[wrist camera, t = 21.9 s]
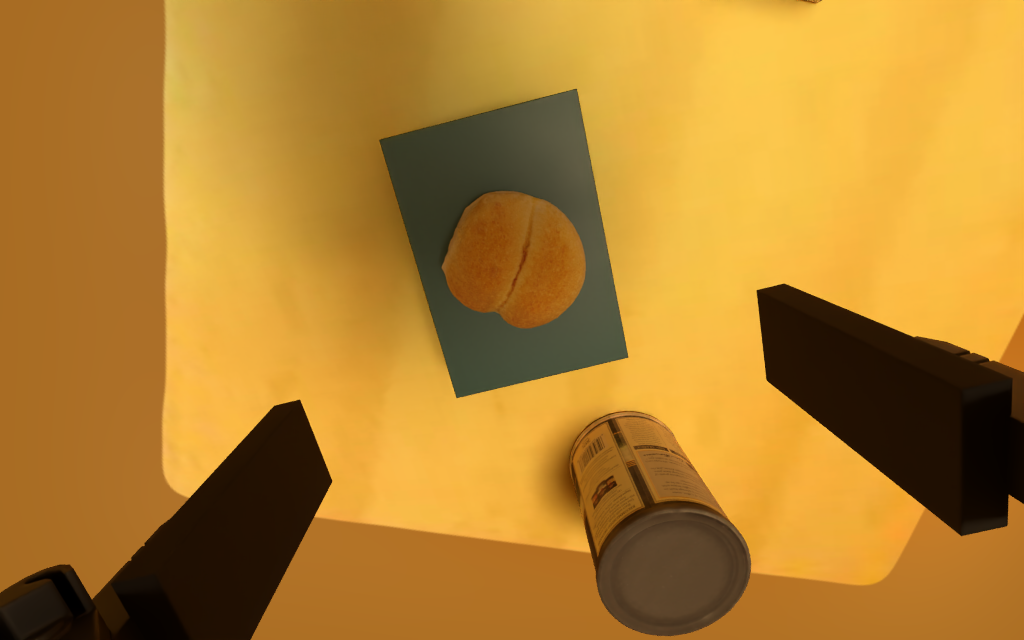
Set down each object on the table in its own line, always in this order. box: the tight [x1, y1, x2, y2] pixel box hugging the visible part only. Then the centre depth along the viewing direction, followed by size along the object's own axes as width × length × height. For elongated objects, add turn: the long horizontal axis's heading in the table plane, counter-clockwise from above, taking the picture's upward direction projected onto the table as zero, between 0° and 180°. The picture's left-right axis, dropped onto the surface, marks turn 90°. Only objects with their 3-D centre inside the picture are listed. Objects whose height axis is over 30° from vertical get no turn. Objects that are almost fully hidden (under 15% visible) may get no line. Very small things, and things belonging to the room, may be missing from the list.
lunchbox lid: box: [380, 89, 628, 398], centre depth 35 cm, size 18×13×1 cm
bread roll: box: [442, 191, 586, 328], centre depth 33 cm, size 8×9×4 cm
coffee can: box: [569, 412, 751, 636], centre depth 42 cm, size 10×10×14 cm
